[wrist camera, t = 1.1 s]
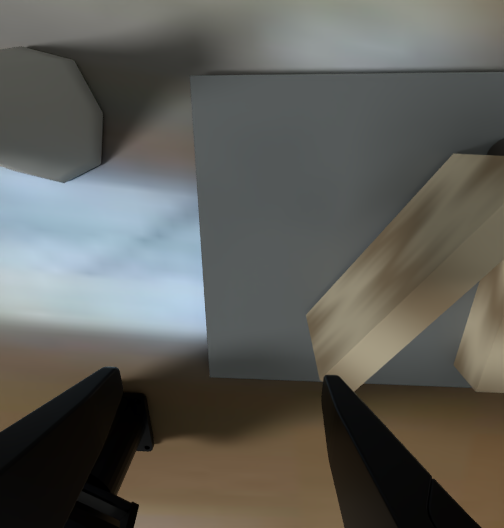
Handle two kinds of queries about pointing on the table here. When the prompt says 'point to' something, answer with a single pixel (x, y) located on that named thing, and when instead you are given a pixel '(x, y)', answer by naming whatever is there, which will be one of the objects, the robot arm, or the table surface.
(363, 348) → the beige flat block
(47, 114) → the flask
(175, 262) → the table surface
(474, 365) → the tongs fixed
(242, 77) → the slate board
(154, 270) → the table surface
